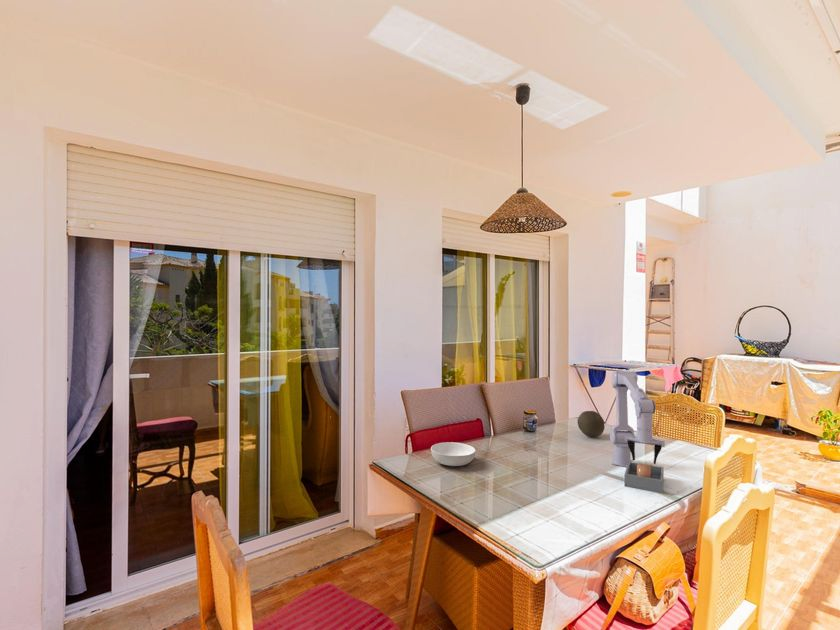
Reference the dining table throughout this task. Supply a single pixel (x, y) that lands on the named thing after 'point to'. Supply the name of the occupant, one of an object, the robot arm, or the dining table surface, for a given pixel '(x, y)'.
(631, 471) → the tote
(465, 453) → the serving bowl
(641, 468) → the terracotta cylinder
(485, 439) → the dining table surface
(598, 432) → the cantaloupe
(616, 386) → the robot arm
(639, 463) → the walnut block
